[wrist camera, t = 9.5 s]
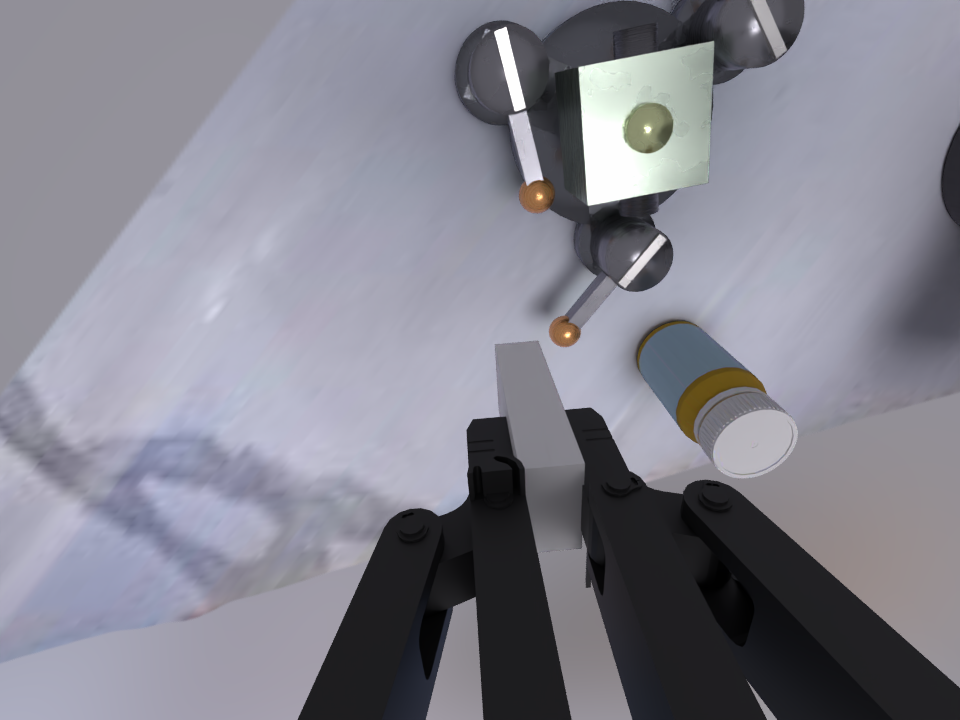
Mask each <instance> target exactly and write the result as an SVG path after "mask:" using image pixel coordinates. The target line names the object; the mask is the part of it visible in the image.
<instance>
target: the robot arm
mask: <svg viewBox="0 0 960 720" xmlns="http://www.w3.org/2000/svg"><path fill="white" fill-rule="evenodd" d="M943 196H944V201H945V205H946V207H947V210H948V212H949V214H950V216H951V217H952V218H953V220H954V221H955V222H956V223H957V224H958V225H959V226H960V129H959V130H958V132H957V134H956V136H955V138H954V140H953V143H952V145H951V148H950V150H949V153H948V156H947V160H946V163H945V168H944V174H943ZM495 355H496V371H497V388H498V404H499V414H500V417H495V418H484V419H473V420H472V422H471V424H470V425H469V427H468V429H467V446H468V463H469V468H468V472H467V477H468V486H469V495H468V497H467V500H466V501H465V502H464V503H463V504H462V505H461V506H460V507H458V508H457V509H456V510H454V511H451V512H449V513H447V514H444V515H442V516H439V517H438V516H437V515H436V514H435V513H433V512H432V511H430V510H426V509H422V508H418V509H409V510H406V511H403V512H400V513H398V514H397V515H395V516H394V517H393V518H391V519H390V520H389V522H388V523H387V525H386V526H385V527H384V530H383V532H382V534H381V536H380V538H379V541H378V543H377V545H376V547H375V550H374V552H373V554H372V556H371V558H370V561H369V563H368V565H367V567H366V569H365V572H364V574H363V576H362V579H361V581H360V583H359V585H358V587H357V590H356V592H355V594H354V596H353V598H352V600H351V603H350V605H349V607H348V609H347V612H346V614H345V616H344V618H343V621H342V623H341V625H340V627H339V629H338V631H337V634H336V636H335V638H334V640H333V643H332V645H331V647H330V649H329V651H328V654H327V656H326V658H325V661H324V663H323V665H322V667H321V669H320V671H319V674H318V676H317V678H316V680H315V683H314V685H313V687H312V689H311V691H310V693H309V696H308V698H307V700H306V702H305V705H304V707H303V709H302V711H301V714H300V716H299V718H298V720H426V716H427V712H428V708H429V704H430V700H431V696H432V692H433V688H434V684H435V680H436V676H437V672H438V668H439V663H440V660H441V656H442V651H443V647H444V643H445V639H446V635H447V631H448V627H449V624H450V619H451V615H452V611H453V606H455V605H458V604H460V603H462V602H465V601H467V600H469V599H472V598H474V597H476V605H477V621H478V638H479V654H480V668H481V669H480V670H481V684H482V685H481V686H482V703H483V719H484V720H571V715H570V710H569V705H568V700H567V695H566V690H565V686H564V680H563V676H562V671H561V666H560V661H559V656H558V651H557V646H556V641H555V636H554V632H553V626H552V622H551V617H550V612H549V607H548V602H547V597H546V592H545V587H544V583H543V577H542V573H541V568H540V563H539V558H538V553H539V552H550V551H560V550H571V549H581V548H582V535H583V538H584V541H585V544H586V547H587V559H586V588H588V587H591V582H592V585H593V588H594V592H595V595H596V598H597V602H598V605H599V608H600V612H601V615H602V619H603V622H604V625H605V629H606V632H607V635H608V638H609V642H610V645H611V649H612V652H613V656H614V659H615V662H616V666H617V669H618V672H619V676H620V679H621V683H622V686H623V689H624V692H625V696H626V699H627V703H628V706H629V709H630V713H631V716H632V720H767V719H766V717H765V715H764V713H763V711H762V709H761V707H760V705H759V703H758V701H757V700H756V697H755V695H754V694H753V692H752V690H751V688H750V686H749V684H748V682H749V683H750V684H751V686H752V687H753V688H754V690H755V691H756V692H757V694H758V695H759V696H760V698H761V699H762V700H763V701H764V703H765V704H766V705H767V707H768V708H769V709H770V711H771V712H772V713H773V715H774V716H775V717H776V718H777V720H960V688H959V687H958V686H957V685H956V684H955V683H954V682H952V681H951V680H950V679H949V678H948V677H947V676H946V675H945V674H943V673H942V672H941V671H940V670H939V669H938V668H937V667H936V666H934V665H933V664H932V663H931V662H930V661H929V660H928V659H926V658H925V657H924V656H923V655H922V654H921V653H919V651H917V650H916V649H915V648H914V647H913V646H912V645H911V644H910V643H908V642H907V641H906V640H905V639H904V638H903V637H902V636H901V635H900V634H898V633H897V632H896V631H895V630H894V629H893V628H892V627H891V626H889V625H888V624H887V623H886V622H885V621H884V620H883V619H882V618H880V617H879V616H878V615H877V614H876V613H875V612H873V610H871V609H870V608H869V607H868V606H867V605H866V604H865V603H863V602H862V601H861V600H860V599H859V598H858V597H857V596H856V595H854V594H853V593H852V592H851V591H850V590H849V589H847V587H845V586H844V585H843V584H842V583H841V582H840V581H839V580H837V579H836V578H835V577H834V576H833V575H832V574H831V573H830V572H828V571H827V570H826V569H825V568H824V567H823V566H822V565H821V564H820V563H818V562H817V561H816V560H815V559H814V558H813V557H812V556H811V555H809V554H808V553H807V552H806V551H805V550H804V549H802V548H801V547H800V546H799V545H798V544H797V543H796V542H795V541H794V540H793V539H791V538H790V537H789V536H788V535H787V534H786V533H785V532H783V531H782V530H781V529H780V528H779V527H778V526H777V525H776V524H774V523H773V522H772V521H771V520H770V519H769V518H768V517H767V516H766V515H764V514H763V513H762V512H761V511H760V510H759V509H758V508H756V507H755V506H754V505H753V504H752V503H751V502H750V501H749V500H747V499H746V498H745V497H744V496H743V495H742V494H741V493H740V492H738V491H736V490H735V489H734V488H732V487H731V486H729V485H726V484H724V483H721V482H718V481H711V480H700V481H695V482H693V483H691V484H689V485H687V487H686V489H685V490H684V491H683V494H677V493H671V492H663V491H659V490H654V489H652V488H649V487H647V486H646V484H645V483H644V481H643V480H642V479H641V478H640V477H639V476H637V475H636V474H634V473H632V472H630V471H629V470H628V468H627V466H626V464H625V462H624V460H623V458H622V456H621V454H620V452H619V449H618V447H617V445H616V443H615V441H614V439H612V435H611V433H610V431H609V430H608V427H607V425H606V423H605V421H604V419H603V417H602V416H601V415H599V414H598V413H597V412H596V411H594V410H593V409H592V408H581V409H570V410H564V407H563V405H562V402H561V399H560V397H559V394H558V391H557V389H556V386H555V384H554V381H553V378H552V376H551V373H550V370H549V368H548V365H547V363H546V360H545V357H544V355H543V352H542V349H541V347H540V344H539V342H538V341H529V342H518V343H506V344H495ZM746 679H747V680H746ZM747 681H748V682H747Z"/></svg>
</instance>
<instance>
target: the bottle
mask: <svg viewBox="0 0 960 720" xmlns="http://www.w3.org/2000/svg"><path fill="white" fill-rule="evenodd" d="M637 363H638V369H639V371H640V373H641V374H642V376H643V378H644V379H645V381H646V382H647V383H648V385H649V386H650V387H651V389H652V390H653V392H654V393H655V394H656V396H657V397H658V398H659V400H660V401H661V403H662V404H663V405H664V407H665V408H666V410H667V411H668V412H669V414H670V415H671V416H672V418H673V419H674V421H675V422H676V423H677V425H678V426H679V427H680V429H681V430H682V431H683V432H684V434H685V435H686V436H687V437H688V438H690V439H691V440H692V441H694V442H696V443H698V444H699V445H700V446H701V447H702V449H703V451H704V452H705V453H706V455H707V456H708V457H709V459H710V460H711V461H712V463H713V464H714V465H715V467H716V468H717V469H719V471H721V472H722V473H724V474H726V475H728V476H730V477H734V478H751V477H756V476H759V475H762V474H765V473H767V472H769V471H771V470H773V469H774V468H776V467H777V466H779V465H780V464H781V463H782V462H783V461H784V460H785V459H786V458H787V457H788V456H789V454H790V453H791V452H792V450H793V449H794V447H795V444H796V441H797V436H798V431H797V426H796V424H795V422H794V420H793V419H792V417H791V416H790V415H789V414H788V413H787V412H786V411H785V410H784V409H783V408H781V407H780V406H779V405H778V404H777V403H776V402H775V401H774V400H772V399H771V398H770V397H769V396H768V395H767V393H766V391H765V388H764V386H763V384H762V383H761V382H760V381H759V380H758V379H757V378H756V377H755V376H754V375H753V374H752V373H751V372H750V371H749V370H747V369H746V368H745V367H744V366H743V365H742V364H741V363H740V362H738V361H737V360H736V359H735V358H734V357H733V356H732V355H730V354H729V353H728V352H727V351H726V350H725V349H724V348H723V347H721V346H720V345H719V344H718V343H717V342H716V341H715V340H713V339H712V338H711V337H710V336H709V335H708V334H707V333H706V332H704V331H703V330H702V329H701V328H699V327H698V326H697V325H695V324H692V323H690V322H686V321H675V322H671V323H667V324H664V325H662V326H660V327H658V328H657V329H655V330H654V331H652V332H651V333H650V334H649V335H648V336H647V337H646V338H645V340H644V341H643V343H642V345H641V346H640V348H639V352H638V356H637Z"/></svg>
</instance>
